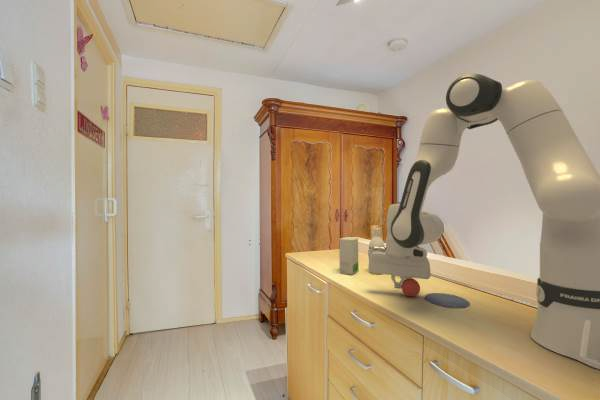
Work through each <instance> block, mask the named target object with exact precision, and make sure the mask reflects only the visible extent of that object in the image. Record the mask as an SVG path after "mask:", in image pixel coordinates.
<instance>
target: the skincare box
mask: <svg viewBox="0 0 600 400" xmlns="http://www.w3.org/2000/svg"><path fill="white" fill-rule="evenodd" d="M338 242H339V274H342V275H349V276H353V275H355V274H356V273H358V272H359V237H349V236H348V237H346V236H345V237H342V238H341V237H340V238H339V241H338Z"/></svg>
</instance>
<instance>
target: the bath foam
mask: <svg viewBox="0 0 600 400" xmlns="http://www.w3.org/2000/svg"><path fill="white" fill-rule="evenodd" d="M373 246H376V247H386V244H385V242H384V240H383V239H382V237H381V228H379V227H375V228H373V236H372V238H371V239H370V241H369V245H368V250H369V249H370V248H371V247H373ZM372 249H373V248H372ZM369 260H370V258H369V257H368V261H369ZM368 273H370V271H369V270H368ZM371 274H373V275H379V274H378V273H371Z"/></svg>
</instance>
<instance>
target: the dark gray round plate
mask: <svg viewBox="0 0 600 400" xmlns="http://www.w3.org/2000/svg"><path fill="white" fill-rule="evenodd" d="M424 299H425V300H426V302H429V303H430V304H433V305H436V306H439V307H444V308H449V309H451V308H452V309H464V308H468V307H469V306H470V305H471V304H470V302H469V301H468V300H467V299H466V298H464V297H461V296H457V295H455V294H450V293H444V292H443V293H442V292H431V293H428V294H425V296H424Z"/></svg>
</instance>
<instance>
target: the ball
mask: <svg viewBox="0 0 600 400" xmlns="http://www.w3.org/2000/svg"><path fill="white" fill-rule="evenodd" d="M420 291H421V285H420V283H419V282H418V280H416V279H415V278H412V279H411V278H408V279H405V281H404V282H403V283H402V284H401V292H403V294H404V295H405V296H408V297H411V298H412V297H416V296H418V295H419V294H420Z"/></svg>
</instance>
